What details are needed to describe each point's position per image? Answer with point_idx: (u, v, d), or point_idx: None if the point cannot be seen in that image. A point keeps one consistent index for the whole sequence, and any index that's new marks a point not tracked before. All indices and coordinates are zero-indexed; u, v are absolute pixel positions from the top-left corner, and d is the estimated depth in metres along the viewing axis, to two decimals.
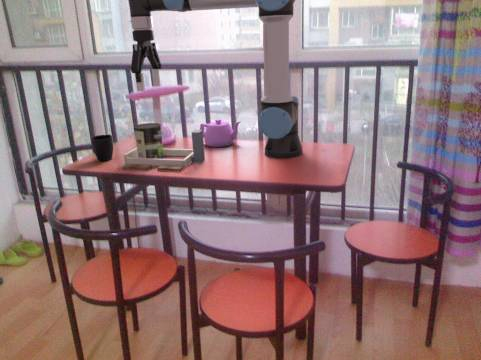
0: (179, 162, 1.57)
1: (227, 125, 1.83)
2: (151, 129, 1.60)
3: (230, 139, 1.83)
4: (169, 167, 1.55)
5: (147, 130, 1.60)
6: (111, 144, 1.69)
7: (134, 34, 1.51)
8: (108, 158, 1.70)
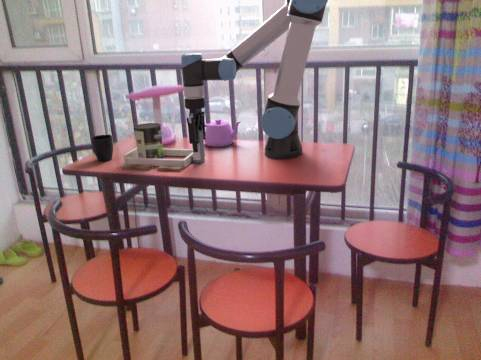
0: (179, 162, 1.57)
1: (227, 125, 1.83)
2: (151, 129, 1.60)
3: (230, 139, 1.83)
4: (169, 167, 1.55)
5: (147, 130, 1.60)
6: (111, 144, 1.69)
7: (187, 103, 1.53)
8: (108, 158, 1.70)
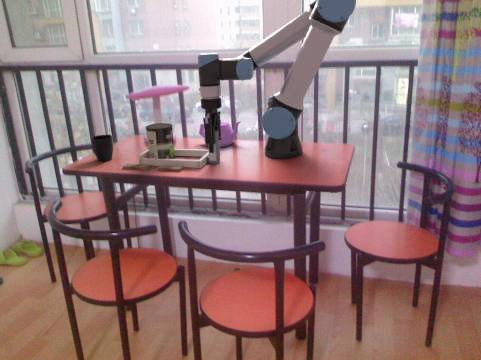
0: (195, 163, 1.56)
1: (227, 125, 1.83)
2: (163, 129, 1.59)
3: (230, 139, 1.83)
4: (169, 167, 1.55)
5: (160, 130, 1.58)
6: (111, 144, 1.69)
7: (203, 103, 1.51)
8: (108, 158, 1.70)
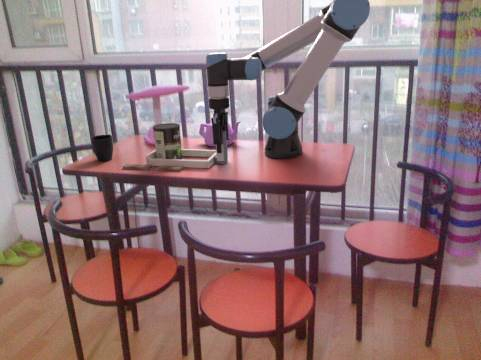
0: (202, 163, 1.55)
1: None
2: (171, 129, 1.58)
3: (230, 139, 1.83)
4: (169, 167, 1.55)
5: (167, 131, 1.58)
6: (111, 144, 1.69)
7: (211, 103, 1.51)
8: (108, 158, 1.70)
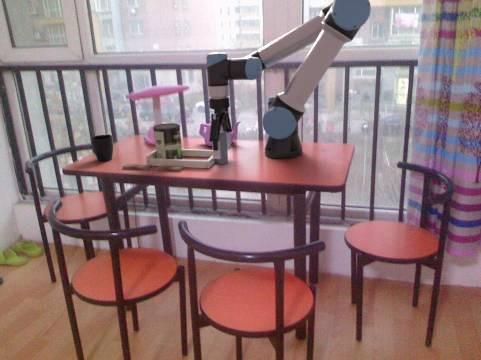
0: (203, 163, 1.55)
1: None
2: (171, 129, 1.58)
3: None
4: (169, 167, 1.55)
5: (167, 131, 1.58)
6: (111, 144, 1.69)
7: (211, 102, 1.51)
8: (108, 158, 1.70)
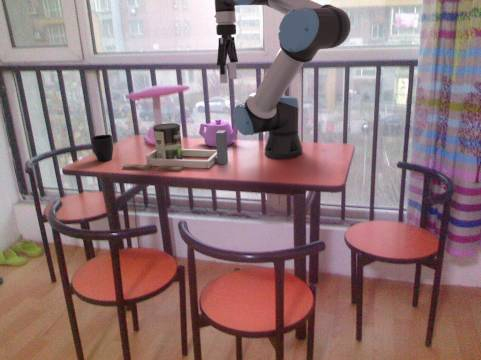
0: (203, 163, 1.55)
1: (227, 125, 1.83)
2: (171, 129, 1.58)
3: (230, 139, 1.83)
4: (169, 167, 1.55)
5: (167, 131, 1.58)
6: (111, 144, 1.69)
7: (219, 28, 1.58)
8: (108, 158, 1.70)
